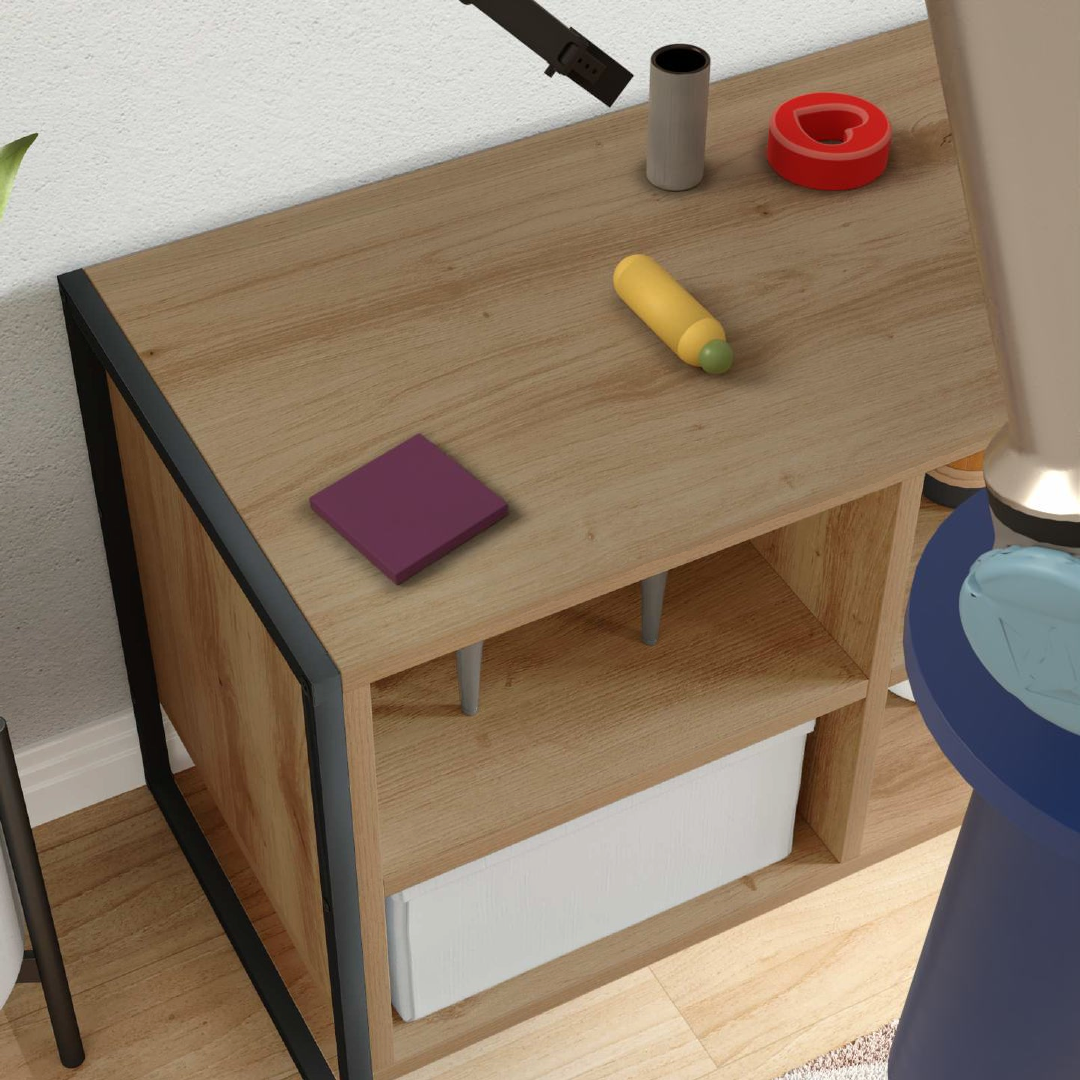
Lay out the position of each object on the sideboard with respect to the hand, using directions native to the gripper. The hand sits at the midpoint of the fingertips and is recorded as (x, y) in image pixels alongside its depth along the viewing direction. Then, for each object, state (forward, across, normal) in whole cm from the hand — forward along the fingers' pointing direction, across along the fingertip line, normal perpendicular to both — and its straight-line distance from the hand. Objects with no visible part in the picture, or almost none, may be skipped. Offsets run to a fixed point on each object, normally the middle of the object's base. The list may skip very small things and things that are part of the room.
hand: (569, 46), depth 112 cm
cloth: (-8, +23, -28) cm, 37 cm away
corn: (+9, +16, -11) cm, 21 cm away
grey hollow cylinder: (+17, 0, -3) cm, 17 cm away
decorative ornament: (+25, +4, +5) cm, 26 cm away
